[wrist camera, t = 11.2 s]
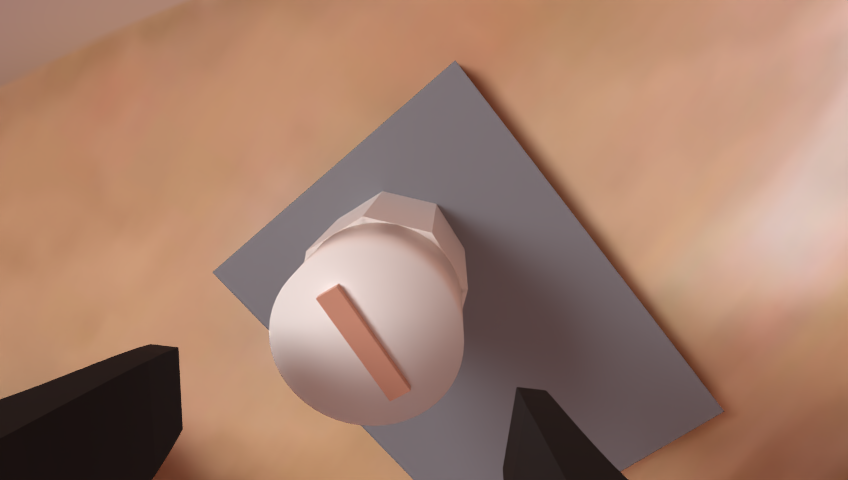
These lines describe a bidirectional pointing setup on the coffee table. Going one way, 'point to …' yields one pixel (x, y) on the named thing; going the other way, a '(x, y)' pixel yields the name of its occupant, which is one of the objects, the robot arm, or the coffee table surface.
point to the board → (495, 293)
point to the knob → (374, 314)
